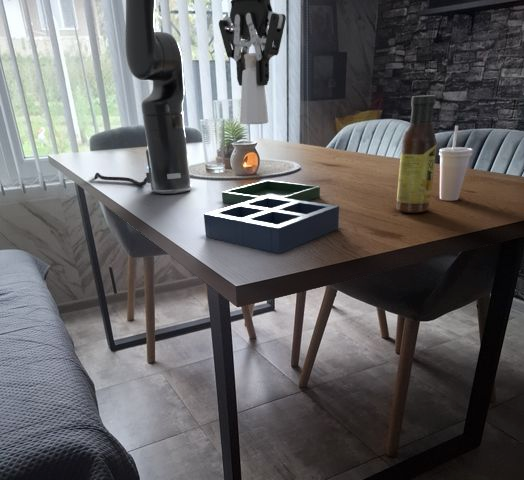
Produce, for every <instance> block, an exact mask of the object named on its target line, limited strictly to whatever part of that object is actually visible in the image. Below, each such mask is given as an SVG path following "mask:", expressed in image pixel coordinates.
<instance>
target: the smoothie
mask: <svg viewBox="0 0 524 480" xmlns="http://www.w3.org/2000/svg"><path fill="white" fill-rule="evenodd" d="M458 132H459V125H455V126H454V133H453V139H452V146H449V147H441V148H440V149H439V151H438V155H439V199H440V200H441V201H448V202H451V201H453V202H454V201H458V200H459V198H460V194H461V191H462V188H463V183H464V180H465V177H466V173H467V170H468V166H469V162H470V158H471V156H473V151H474V149H473V148H471V147H462V146H456V145H457V138H458Z"/></svg>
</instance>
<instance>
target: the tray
mask: <svg viewBox="0 0 524 480" xmlns="http://www.w3.org/2000/svg"><path fill="white" fill-rule="evenodd" d="M264 196H272V197H279V198H286V199H293V200H300V201H307V202H310V201H312V200H314V199H318V198H321V186H318V185H313V184H304V183H294V182H288V181H287V182H286V181H277V180H269V179H267V180H262V181H258V182H255V183H251V184H246V185H243V186H240V187H235V188H232V189H228V190H224V191H221V199H222V203H224V204H228V205H229V204H230V205H236V204H240V203H243V202H246V201H250V200H253V199H257V198H260V197H264Z"/></svg>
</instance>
